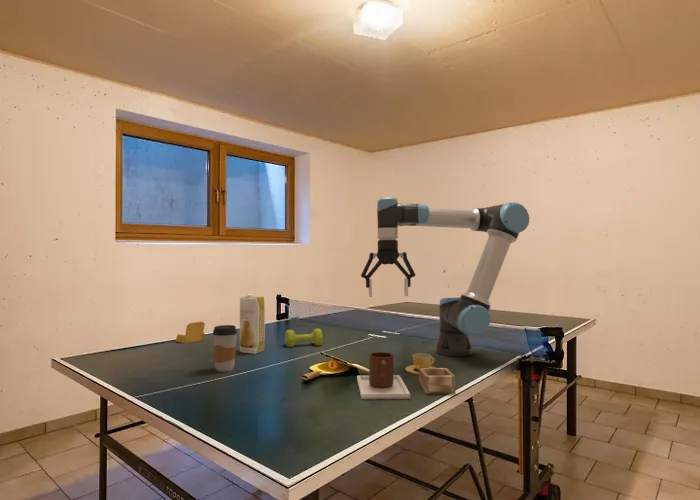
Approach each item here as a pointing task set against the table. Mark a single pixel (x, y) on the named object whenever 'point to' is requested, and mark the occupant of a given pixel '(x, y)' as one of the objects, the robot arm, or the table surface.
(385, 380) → the mug
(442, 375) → the oak box
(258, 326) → the juice carton
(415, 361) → the cup
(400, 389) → the tray
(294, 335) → the dumbbell
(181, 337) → the yellow stepped piece
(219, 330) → the coffee cup
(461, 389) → the table surface
